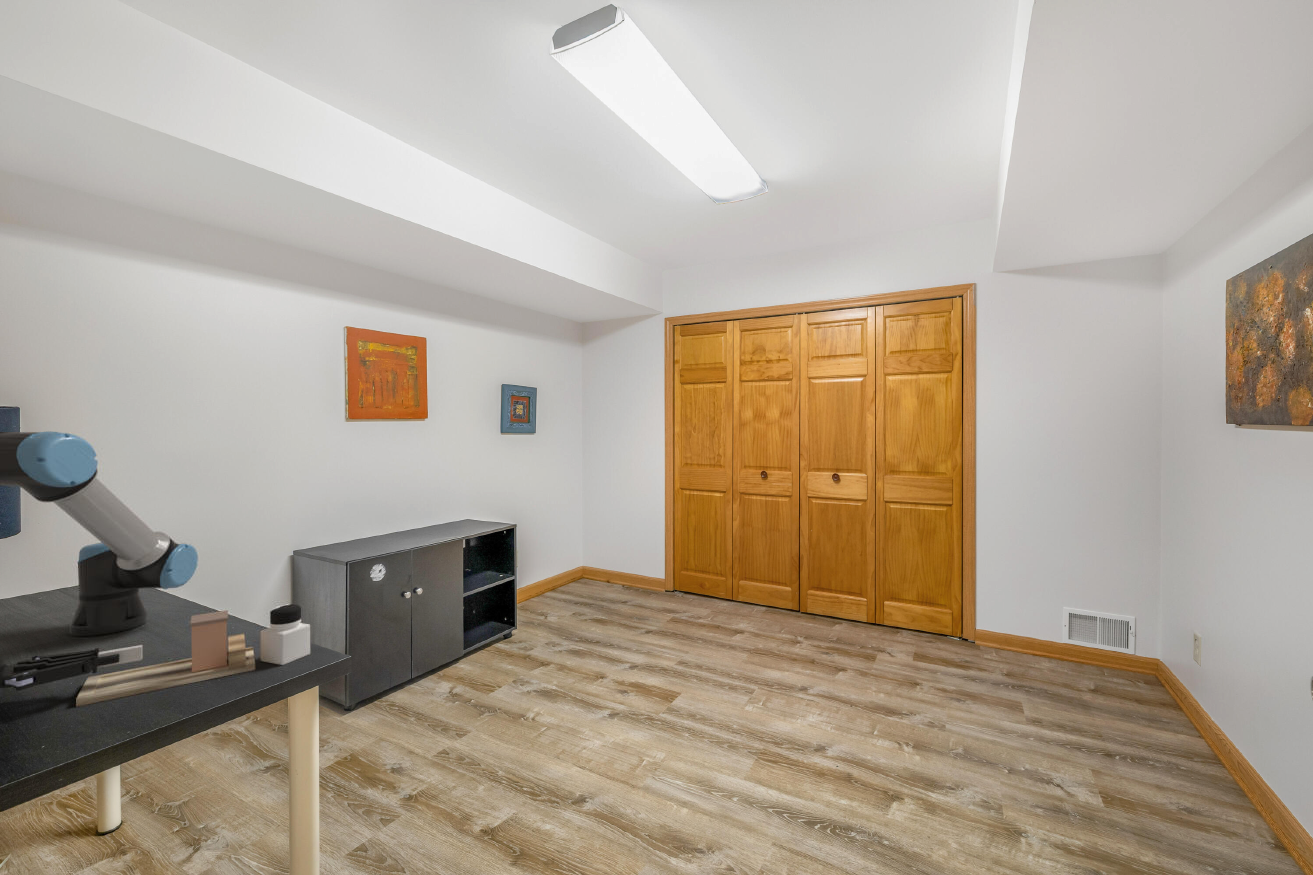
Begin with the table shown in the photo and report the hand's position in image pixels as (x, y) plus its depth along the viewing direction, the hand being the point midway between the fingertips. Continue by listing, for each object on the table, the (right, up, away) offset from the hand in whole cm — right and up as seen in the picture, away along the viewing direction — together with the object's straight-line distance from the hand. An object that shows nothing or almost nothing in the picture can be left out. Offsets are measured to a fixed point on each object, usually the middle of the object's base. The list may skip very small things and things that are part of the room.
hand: (141, 652), depth 118 cm
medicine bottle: (+21, -7, +14) cm, 26 cm away
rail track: (+4, -7, +4) cm, 8 cm away
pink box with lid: (+9, -5, +7) cm, 12 cm away
